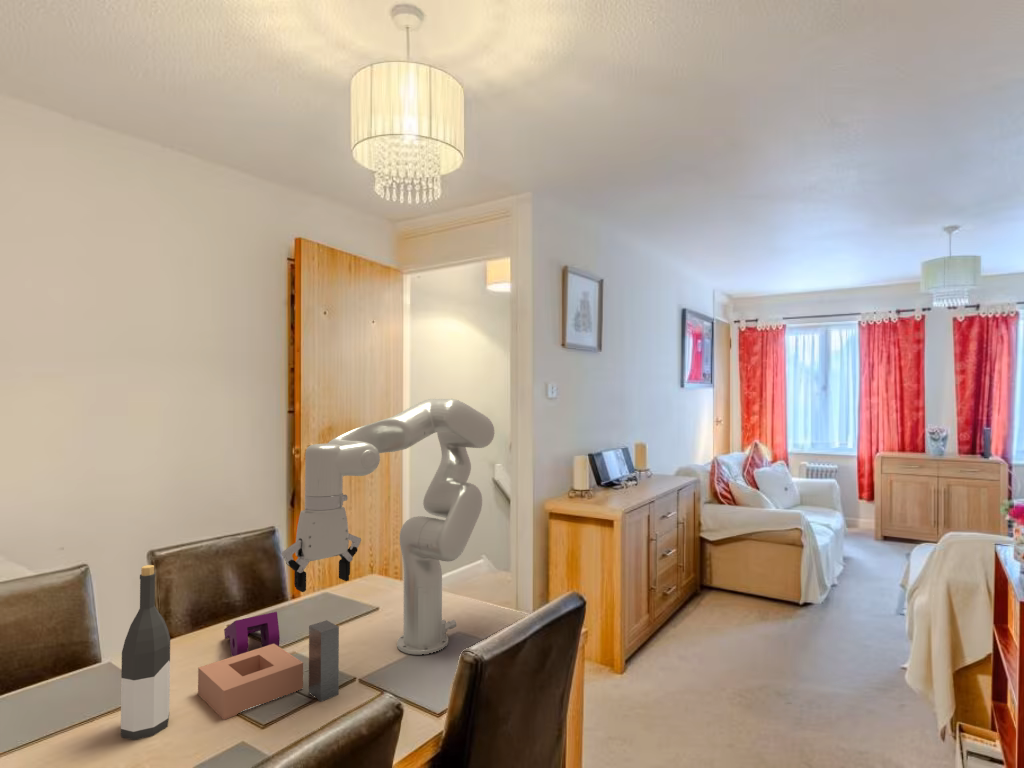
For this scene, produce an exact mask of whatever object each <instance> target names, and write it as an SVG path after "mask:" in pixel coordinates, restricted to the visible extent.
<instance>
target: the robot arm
mask: <svg viewBox="0 0 1024 768" xmlns="http://www.w3.org/2000/svg"><path fill="white" fill-rule="evenodd" d="M436 433H437V434H436ZM433 434H436V435H437V439H438V441H439V447H440V451H441V459H440V463H439V465H438V468H437V470H436V472H435V474H434V476H433V478H432V480H431V481H430V483H429V486H428V487H427V490H426V492H425V495H424V497H423V501H422V502H423V503H422V504H423V505H422V506H423V508H424V510H425V511H426V512H427V513H428V514H430V515H432V516H436V517H440V518H445V519H439V518H435V517H428V516H420V515H419V516H413V517H410V518H409V519H407V520H405V522H404V523H403V525H402V526H401V529H400V531H399V532H400V533H399V545H400V551H401V556H402V565H403V634H402V635H400V636H399V638H398V639H397V641H396V645H397V646H396V647H397V649H398V650H399V651H400V652H402V653H405V654H407V655H408V654H409V655H416V656H418V655H419V656H420V655H421V656H422V654H424V655H429V653H431V654H433V652H435V653H437V652H436V651H438V652H440V651H442V650H444V649H445V648H446V647H447V646H448V644H449V637H448V635H447V634H446V633H448V630H451V629H454V628H456V627H457V621H456V620H455V619H451V620H449V621H446V619H443V571H442V565H441V563H440V562H448V563H449V562H450V563H451V562H454V561H456V560H457V559H459V557H460V556H462V553H463V552H464V550H465V549H466V546H467V544H468V542H469V540H470V537H471V535H472V533H473V530H474V529H475V526H476V524H477V522H478V519H479V517H480V514H481V511H482V506H483V496H482V495H483V494H482V493H481V490H480V488H479V487H478V486H476V485H475V484H474V483H471V482H468V480H469V477H470V475H471V470H472V463H471V460H470V457H469V454H468V451H467V448H469V449H470V448H471V449H483V448H486V447H488V446H489V445H490V444H492V442H493V440H494V437H495V426H494V424H493V422H492V420H491V419H490V418H489V417H488V416H487V415H485V414H484V413H481V412H480V411H478V410H477V409H476V408H473V407H472V406H470V405H469V404H467V403H465V402H463V401H460V400H459V399H453V398H430V399H429V398H428V399H424V400H422V401H420V402H418V403H416V404H414V405H412V406H410V407H409V408H407V409H405V410H403V411H401V412H399V413H397V414H395V415H392V416H391V417H387V418H384V419H381V420H378V421H375V422H372V423H368V424H365V425H362V426H360V427H356V428H353V429H352V430H349V431H347V432H344V433H342V434H341V435H338V436H337V437H334V438H332V439H331V440H330V441H328V442H326V443H315V444H310V445H309V446H307V447H306V450H305V454H304V455H305V464H304V465H305V466H304V467H305V470H304V509H303V510H301V511H300V513H299V516H298V523H297V526H296V527H297V529H296V535H295V537H296V538H295V542H294V543H292V544H291V545H289V546H288V547H287V548H285V549H284V550H283V551H282V553H281V555H282V558H283V559H284V561H285V563H286V565H287V566H288V567H290V568H291V570H292V571H294V582H293V583H294V587H295V589H296V590H297V591H298V592H301V593H304V592H306V591H307V572H306V571H305V570H306V568H307V566H308V564H309V563H310V562H314V561H318V560H323V559H328V558H332V557H333V558H334V557H338V556H339V557H340V558H341V559H339V561H338V579H340V580H342V581H344V582H348V581H350V574H351V562H352V561H353V559H354V556H355V555H356V554H357V553H358V548H359V547H360V544H361V541H362V538H361V537H359V536H357V535H354V534H351V533H349V523H348V518H347V517H348V516H347V512H346V508H345V507H344V506H343V505H344V502H345V501H348V495H347V494H344V493H343V487H344V486H343V482H344V481H343V480H344V479H343V477H346V476H347V477H348V476H349V477H350V476H351V477H363V476H367V475H371V474H372V473H373V472H374V471H375V470H377V468H378V467H379V464H380V461H381V455H380V454H384V453H385V454H386V453H393V452H399V451H403V450H407V449H409V448H411V447H413V446H414V445H416V444H417V443H419V442H420V441H423V440H424V439H425V438H428V437H430V436H431V435H433ZM349 542H351V545H350V543H349ZM294 554H295V557H297V559H296V560H295V559H294V557H293V555H294ZM446 645H447V646H446ZM445 646H446V647H445ZM444 647H445V648H444ZM443 648H444V649H443ZM441 649H442V650H441ZM439 650H440V651H439Z"/></svg>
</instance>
